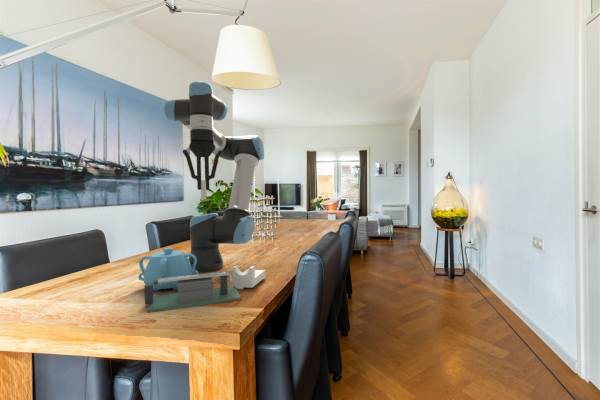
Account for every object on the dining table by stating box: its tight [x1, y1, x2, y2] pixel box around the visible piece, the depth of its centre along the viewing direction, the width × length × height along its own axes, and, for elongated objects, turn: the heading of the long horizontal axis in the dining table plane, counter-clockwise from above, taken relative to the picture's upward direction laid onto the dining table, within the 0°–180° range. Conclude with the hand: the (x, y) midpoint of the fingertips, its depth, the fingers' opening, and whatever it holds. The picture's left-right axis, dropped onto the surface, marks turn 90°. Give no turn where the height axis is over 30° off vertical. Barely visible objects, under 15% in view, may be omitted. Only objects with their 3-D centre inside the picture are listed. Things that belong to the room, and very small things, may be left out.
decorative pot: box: [138, 247, 199, 292], centre depth 114 cm, size 16×16×14 cm
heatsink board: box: [144, 275, 242, 313], centre depth 100 cm, size 12×27×6 cm, turn 111°
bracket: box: [231, 264, 266, 290], centre depth 116 cm, size 13×7×8 cm, turn 167°
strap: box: [153, 270, 233, 284], centre depth 100 cm, size 3×23×3 cm, turn 111°
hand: (203, 199), depth 111 cm, fingers closed
